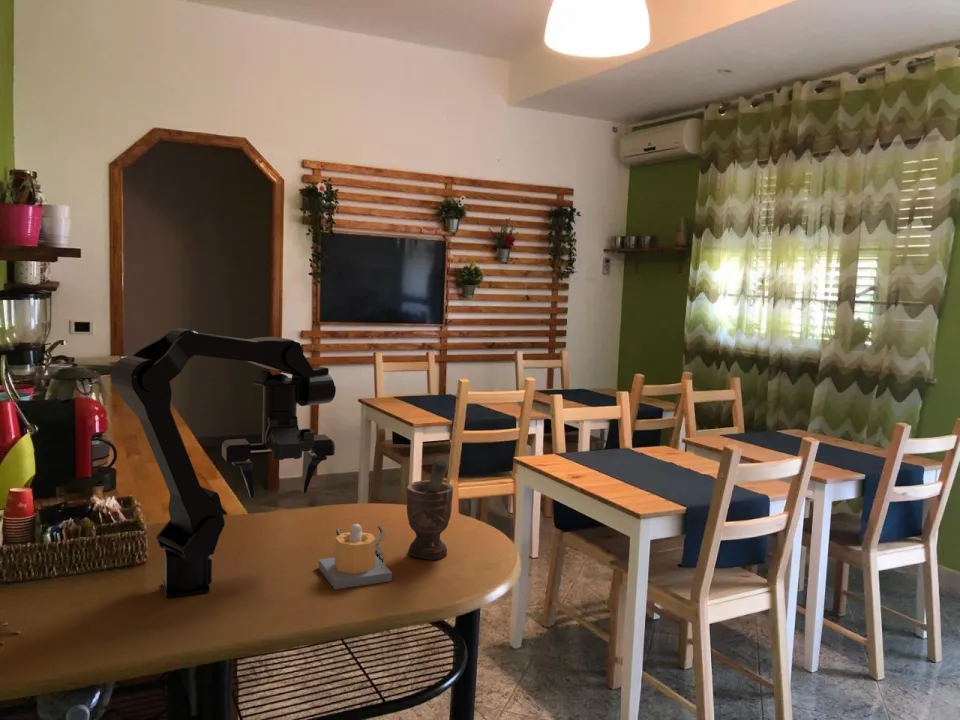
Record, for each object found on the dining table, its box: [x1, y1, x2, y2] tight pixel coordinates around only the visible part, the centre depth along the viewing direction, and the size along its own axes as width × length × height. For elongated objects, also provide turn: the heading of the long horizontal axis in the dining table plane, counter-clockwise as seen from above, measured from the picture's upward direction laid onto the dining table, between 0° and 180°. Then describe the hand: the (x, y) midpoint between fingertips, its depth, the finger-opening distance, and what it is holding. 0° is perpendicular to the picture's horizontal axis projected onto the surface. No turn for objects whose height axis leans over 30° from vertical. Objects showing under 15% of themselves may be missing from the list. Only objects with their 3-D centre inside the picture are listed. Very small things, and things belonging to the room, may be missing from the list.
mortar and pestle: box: [406, 457, 454, 561], centre depth 140 cm, size 12×9×20 cm
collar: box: [334, 531, 377, 574], centre depth 130 cm, size 6×6×5 cm
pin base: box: [318, 523, 393, 590], centre depth 130 cm, size 10×10×9 cm
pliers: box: [336, 524, 386, 562], centre depth 147 cm, size 10×1×20 cm
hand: (278, 495), depth 134 cm, fingers open, 9 cm apart
